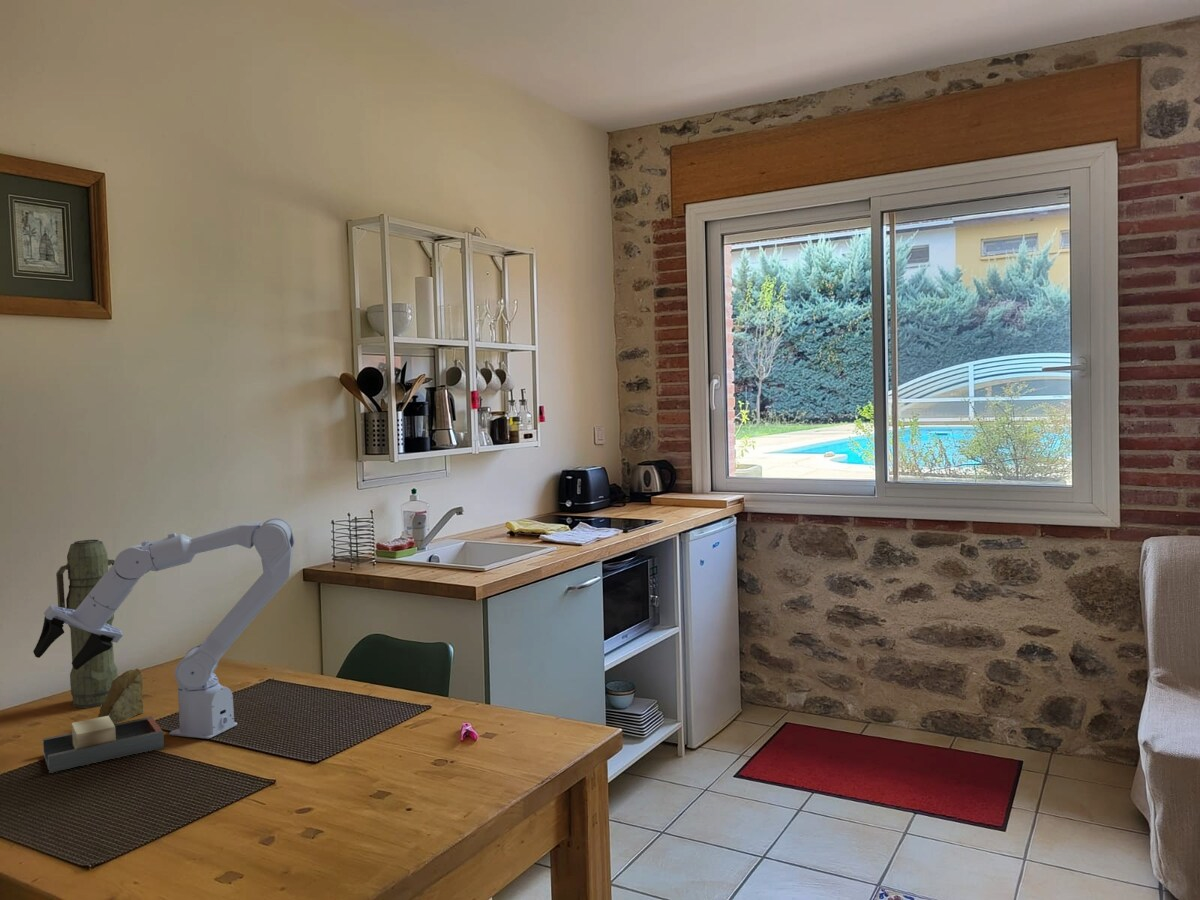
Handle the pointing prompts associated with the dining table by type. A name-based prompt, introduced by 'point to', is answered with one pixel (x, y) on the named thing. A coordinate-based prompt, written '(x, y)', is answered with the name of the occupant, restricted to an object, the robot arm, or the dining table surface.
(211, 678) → the robot arm
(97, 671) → the thermos
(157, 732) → the chute
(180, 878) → the dining table surface
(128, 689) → the rock
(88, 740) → the block
